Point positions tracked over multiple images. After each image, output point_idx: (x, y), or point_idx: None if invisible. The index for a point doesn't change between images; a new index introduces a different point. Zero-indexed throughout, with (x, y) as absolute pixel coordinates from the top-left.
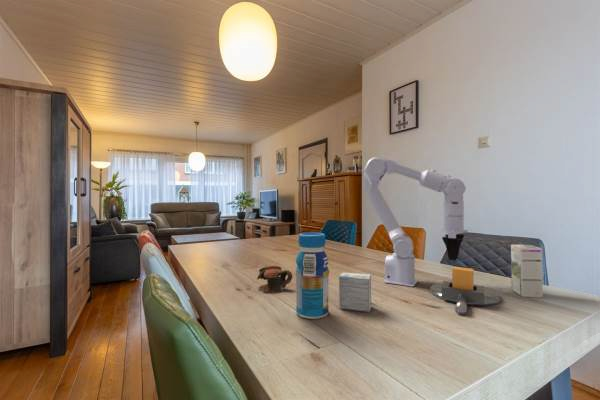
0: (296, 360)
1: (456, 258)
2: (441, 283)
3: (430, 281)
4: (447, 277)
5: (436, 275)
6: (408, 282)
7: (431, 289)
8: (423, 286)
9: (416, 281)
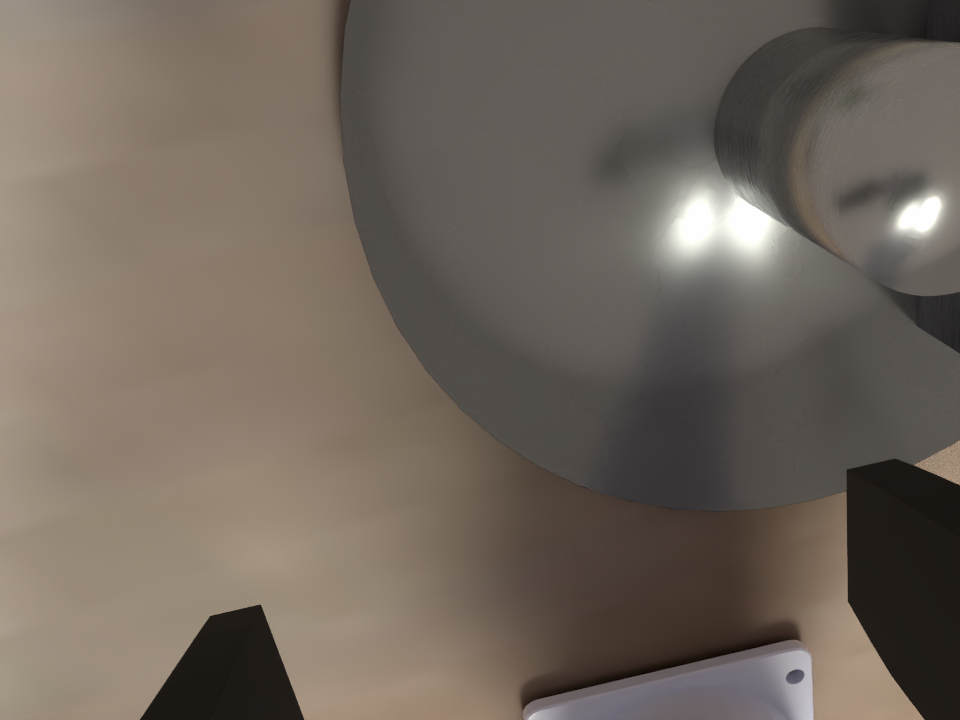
0: None
1: (936, 485)
2: (579, 459)
3: (416, 606)
4: (8, 535)
5: (32, 665)
6: (779, 715)
7: (927, 452)
8: (697, 578)
9: (619, 690)
